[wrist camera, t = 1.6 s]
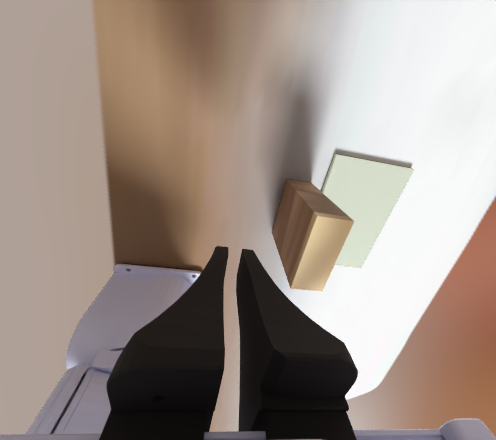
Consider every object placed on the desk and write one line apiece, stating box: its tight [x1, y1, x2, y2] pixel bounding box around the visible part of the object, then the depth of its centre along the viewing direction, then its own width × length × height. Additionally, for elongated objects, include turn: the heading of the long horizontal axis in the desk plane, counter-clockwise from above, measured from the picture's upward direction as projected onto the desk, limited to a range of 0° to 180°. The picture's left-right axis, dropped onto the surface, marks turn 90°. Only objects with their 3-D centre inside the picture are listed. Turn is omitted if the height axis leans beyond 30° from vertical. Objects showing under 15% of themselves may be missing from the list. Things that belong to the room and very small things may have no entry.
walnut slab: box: [272, 179, 354, 291], centre depth 18 cm, size 2×6×8 cm, turn 169°
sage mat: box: [321, 154, 414, 268], centre depth 22 cm, size 8×12×1 cm, turn 170°
